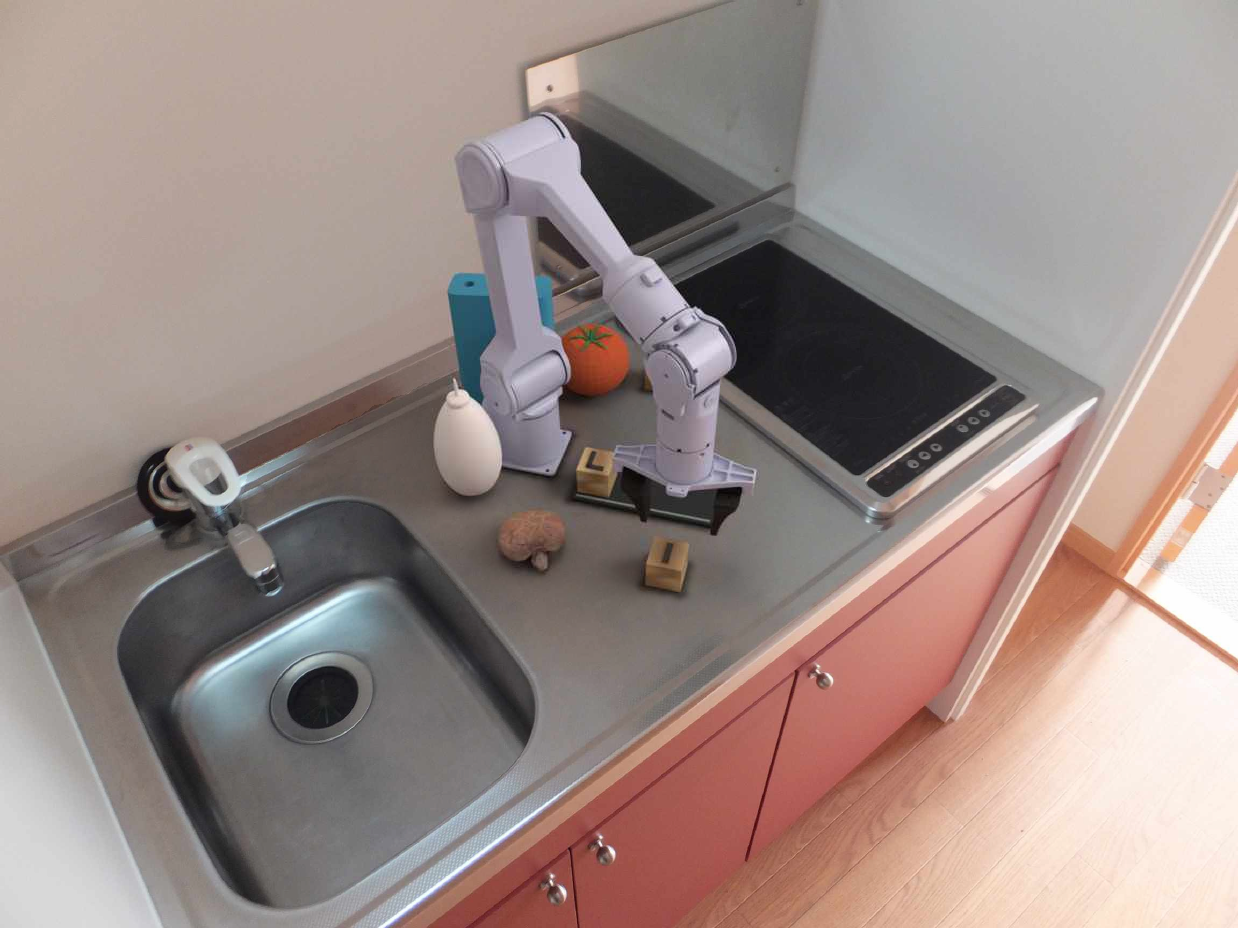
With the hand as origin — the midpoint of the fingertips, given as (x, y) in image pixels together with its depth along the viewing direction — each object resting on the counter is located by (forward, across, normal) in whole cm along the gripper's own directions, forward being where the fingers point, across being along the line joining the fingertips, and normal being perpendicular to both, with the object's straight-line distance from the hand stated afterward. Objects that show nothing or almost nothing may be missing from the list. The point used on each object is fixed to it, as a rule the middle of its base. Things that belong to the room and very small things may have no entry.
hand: (680, 521), depth 95 cm
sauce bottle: (+8, -27, +6) cm, 28 cm away
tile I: (+8, -1, -2) cm, 8 cm away
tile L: (+7, -12, +9) cm, 17 cm away
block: (+8, -26, +19) cm, 33 cm away
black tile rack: (+8, -6, +9) cm, 13 cm away
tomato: (+8, -18, +27) cm, 34 cm away
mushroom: (+8, -17, -2) cm, 19 cm away
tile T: (+8, -8, +30) cm, 32 cm away
